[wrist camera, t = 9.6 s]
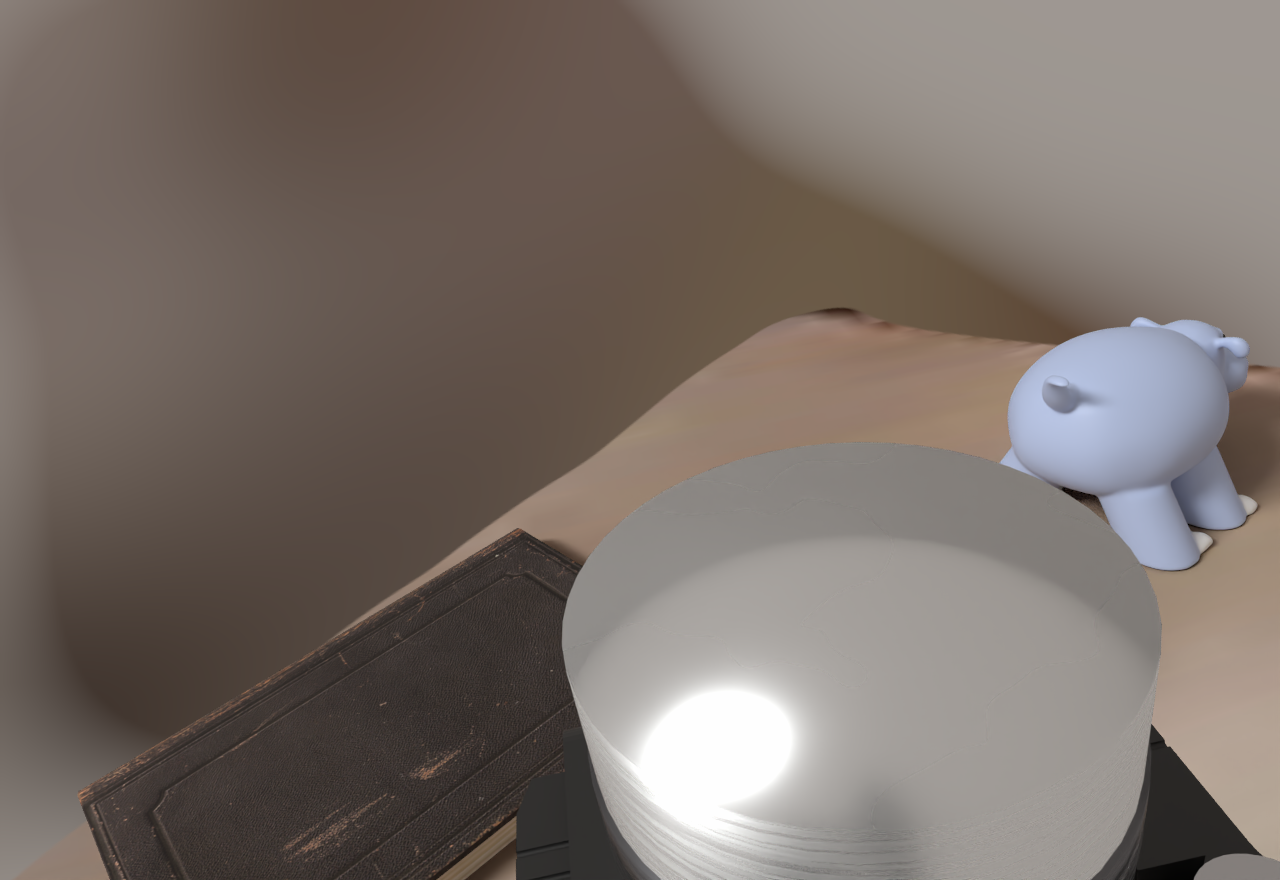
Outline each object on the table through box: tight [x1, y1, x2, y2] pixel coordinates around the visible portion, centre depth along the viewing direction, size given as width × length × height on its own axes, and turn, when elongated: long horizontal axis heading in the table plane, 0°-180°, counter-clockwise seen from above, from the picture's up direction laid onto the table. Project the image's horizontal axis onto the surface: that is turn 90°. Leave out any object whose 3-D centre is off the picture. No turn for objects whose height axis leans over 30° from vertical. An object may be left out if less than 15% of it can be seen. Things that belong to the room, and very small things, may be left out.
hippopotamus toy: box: [999, 317, 1257, 571], centre depth 44 cm, size 11×15×10 cm
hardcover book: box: [78, 528, 583, 880], centre depth 39 cm, size 16×23×2 cm
